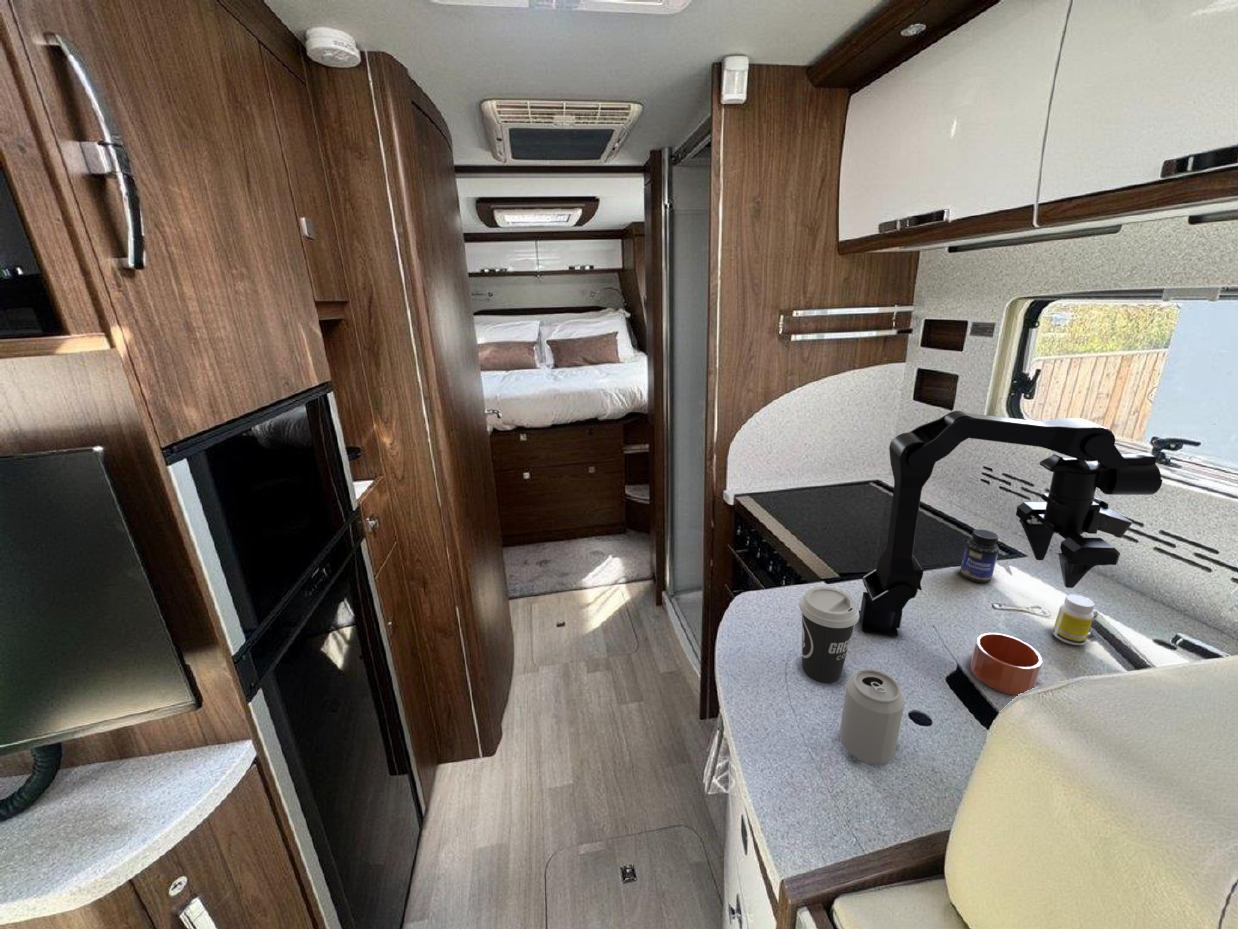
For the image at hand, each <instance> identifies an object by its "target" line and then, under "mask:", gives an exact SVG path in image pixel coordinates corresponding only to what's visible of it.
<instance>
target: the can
mask: <svg viewBox="0 0 1238 929" xmlns="http://www.w3.org/2000/svg"><path fill="white" fill-rule="evenodd" d="M844 693H845V694H844V701H843V708H842V715H841V721H840V728H839V739H840V742H841V744H842V746H843V747H844V749H845V750H846V751H847V752H848V753H849V754H851V755H852V756H853V757H854V758H856V759H857V760H859V761H861V762H862V763H863V762H864V763H867V764H870V765H882V764H888V763H889V762H890V761H892V760H893V758H894V756H895V753H896V749H897V745H898V739H899V734H900V729H901V724H902V719H903V715H904V709H905V705H906V704H905V703H906V702H905V696H904V694H903V692H902V688H901V686H900V684H899V683H898V682H897V680H895V679H894V678H893V677H891V676H890V675H889V674H888V673H885V672H884V671H881V670H877V669H873V668H863V669H858V670H857V671H856V672H855V673H854V674H853V675H851V677H849V679H848V680H847V682H846V687H845V692H844Z"/></svg>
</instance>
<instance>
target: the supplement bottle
mask: <svg viewBox="0 0 1238 929" xmlns="http://www.w3.org/2000/svg"><path fill="white" fill-rule="evenodd" d="M1094 608H1095V603H1094V601H1093V600H1091V599H1089V598H1087V597H1085V596H1083V595H1078V594H1067V595H1066V597H1065V599H1064V602H1063V603H1062V604H1060V606H1059V610H1058V613H1057V616H1056V619H1055V622H1054V625H1053V629H1052V634H1053V636H1054V637H1056V638H1057V639H1058V640H1060V641H1061V642H1063V643H1065V644H1068V645H1072V646H1082V645H1084V644H1085V643H1086V642H1087V638H1088V635H1089V633H1090V629H1091V626H1092V624H1093V620H1094V617H1095V615H1094V610H1095V609H1094Z"/></svg>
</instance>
